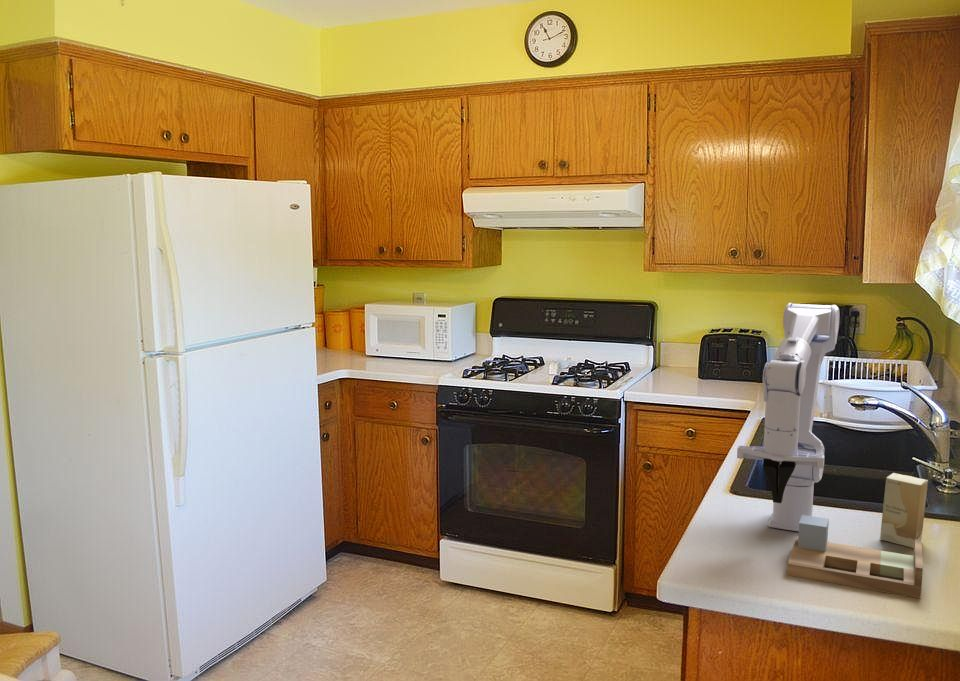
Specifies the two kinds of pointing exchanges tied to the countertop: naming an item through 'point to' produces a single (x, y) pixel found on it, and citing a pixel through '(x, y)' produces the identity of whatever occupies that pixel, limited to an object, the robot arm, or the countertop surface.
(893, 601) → the countertop surface
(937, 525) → the countertop surface
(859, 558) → the board
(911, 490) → the skincare box
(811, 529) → the block
